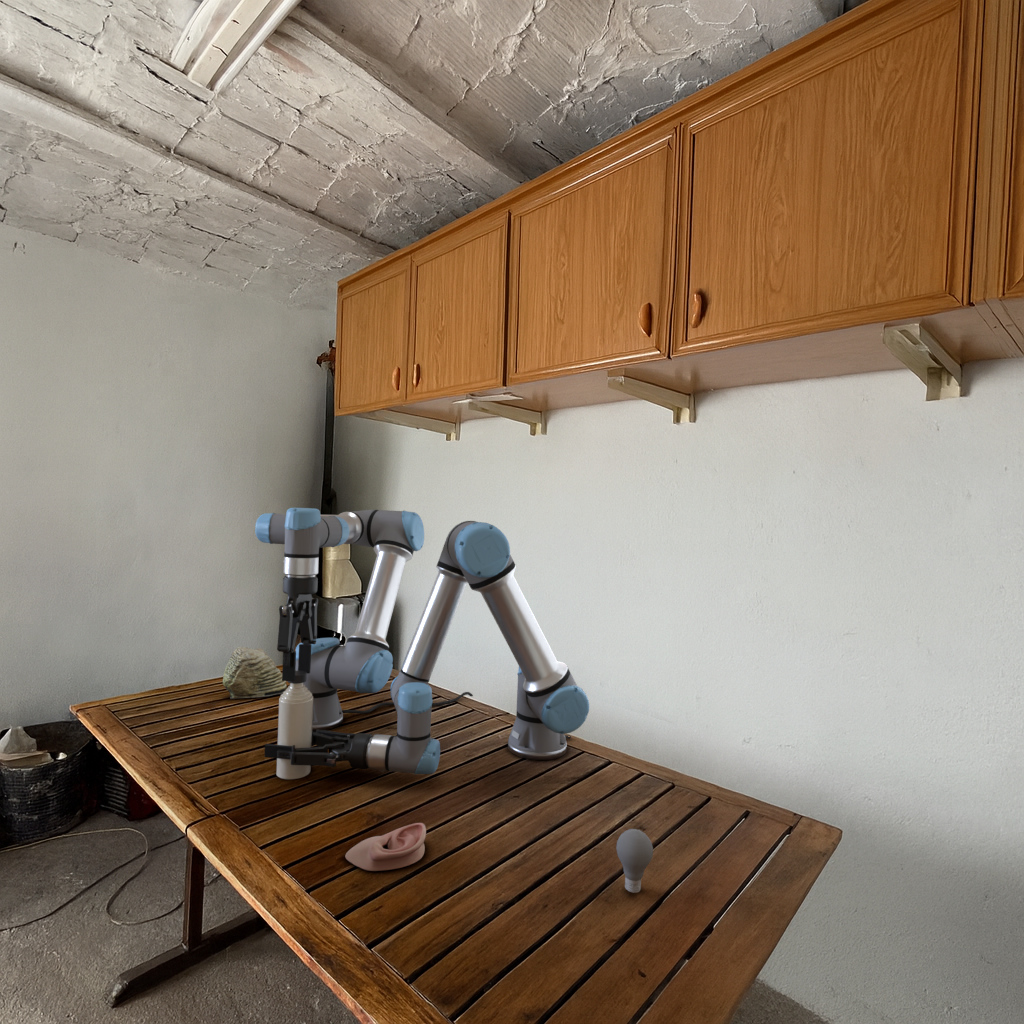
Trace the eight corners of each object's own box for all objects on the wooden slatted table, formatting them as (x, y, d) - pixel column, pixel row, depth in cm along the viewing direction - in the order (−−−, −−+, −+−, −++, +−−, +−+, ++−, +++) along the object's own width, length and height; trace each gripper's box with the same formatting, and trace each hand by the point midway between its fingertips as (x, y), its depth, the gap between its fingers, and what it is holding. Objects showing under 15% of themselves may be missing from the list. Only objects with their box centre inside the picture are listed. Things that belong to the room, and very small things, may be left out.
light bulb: (610, 879, 108) (613, 822, 108) (644, 879, 109) (647, 822, 109) (619, 902, 102) (622, 840, 102) (655, 901, 103) (658, 840, 103)
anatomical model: (337, 842, 109) (366, 811, 120) (336, 865, 109) (365, 832, 120) (410, 854, 106) (432, 821, 117) (409, 878, 106) (432, 842, 118)
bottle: (274, 780, 140) (278, 679, 140) (278, 766, 148) (281, 670, 147) (309, 778, 142) (313, 678, 142) (311, 764, 149) (315, 669, 149)
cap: (286, 683, 142) (286, 675, 142) (288, 678, 146) (288, 670, 146) (305, 683, 143) (306, 675, 143) (307, 678, 147) (307, 670, 147)
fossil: (218, 695, 195) (220, 647, 195) (278, 685, 208) (279, 640, 207) (228, 703, 189) (230, 653, 188) (289, 692, 201) (290, 645, 201)
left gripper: (306, 570, 154) (302, 664, 154) (261, 579, 135) (257, 686, 135) (334, 572, 153) (330, 667, 153) (294, 581, 134) (290, 690, 134)
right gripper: (354, 788, 133) (250, 779, 135) (383, 750, 153) (293, 743, 155) (356, 753, 133) (252, 744, 135) (384, 719, 153) (294, 712, 155)
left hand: (296, 676), depth 144 cm, fingers open, 6 cm apart
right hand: (274, 743), depth 145 cm, fingers closed on bottle, 7 cm apart
